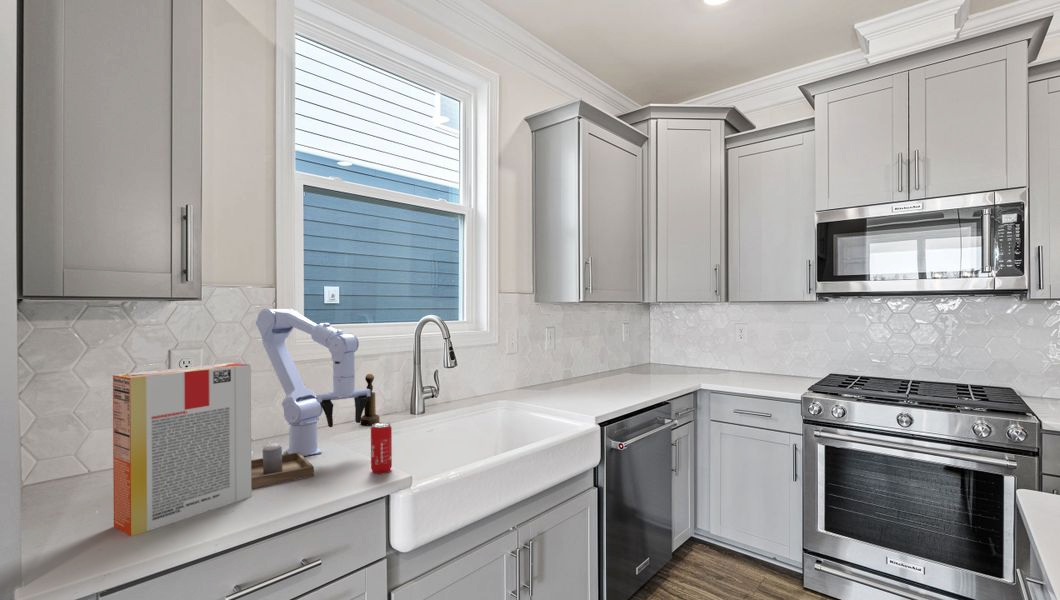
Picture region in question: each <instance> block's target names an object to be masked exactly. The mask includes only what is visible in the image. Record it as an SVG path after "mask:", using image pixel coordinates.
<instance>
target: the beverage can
mask: <svg viewBox="0 0 1060 600" xmlns="http://www.w3.org/2000/svg"><path fill="white" fill-rule="evenodd" d="M392 431H393V430H392V426H391V423H388V422H379V423H377V424H373V425H371V428H370V469H371V470H372V473H373V474H376V475H383V473H384V474H387V473H389V472H391V469H392V467H393V466H392V465H393V464H392V463H393V462H392V460H393V457H392V456H393V452H392V450H393V449H392V446H393V444H392V437H393V436H392Z"/></svg>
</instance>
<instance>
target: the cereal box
mask: <svg viewBox="0 0 1060 600" xmlns="http://www.w3.org/2000/svg"><path fill="white" fill-rule="evenodd" d="M251 368H252V367H251V364H246V363H236V362H228V363H218V364H209V365H206V364H205V365H198V366H188V367H180V368H169V369H160V370H150V371H149V370H148V371H140V372H138V371H137V372H129V373H121V374H119V373H118V374H113V375H112V414H113V415H112V429H113V430H112V438H113V439H112V442H113V443H112V447H113V449H112V453H113V455H112V456H113V457H112V458H113V459H112V461H113V462H112V464H113V467H112V469H113V473H112V474H113V475H112V476H113V478H112V479H113V527H114V528H116V529H117V530H118V531H119V530H120V531H121V532H123V533H125V534H126V535H127V536H130V537H134V536H136V535H139V534H142V533H145V532H149V531H151V530H155V529H158V528H160V527H164V526H167V525H170V524H173V523H176V522H178V521H183V520H185V519H189V518H190V517H191V518H192V517H193V516H197V515H201V514H204V513H206V512H210V511H213V510H216V509H217V508H222V507H224V506H227V505H231V504H234V503H236V502H240V501H242V500H246V499H248V498H252V489H251V460H252V398H251V397H252V389H251V388H252V385H251V381H252V378H251V377H252V376H251V375H252V372H251V371H252V369H251ZM209 510H210V511H209Z"/></svg>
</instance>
